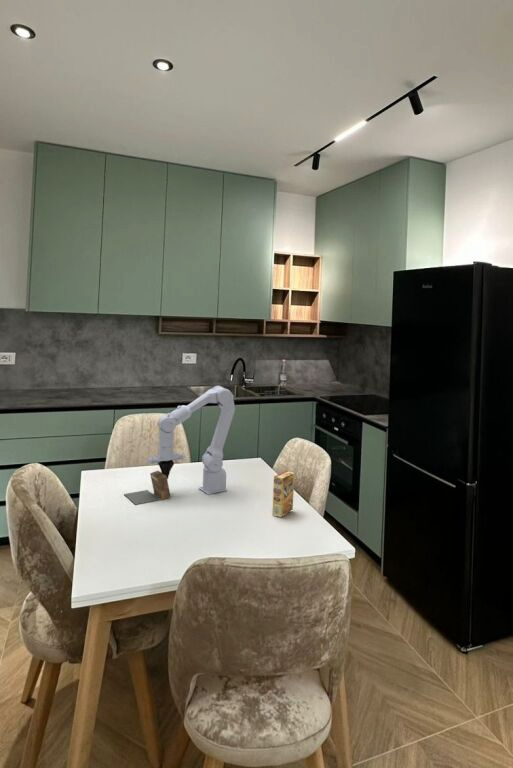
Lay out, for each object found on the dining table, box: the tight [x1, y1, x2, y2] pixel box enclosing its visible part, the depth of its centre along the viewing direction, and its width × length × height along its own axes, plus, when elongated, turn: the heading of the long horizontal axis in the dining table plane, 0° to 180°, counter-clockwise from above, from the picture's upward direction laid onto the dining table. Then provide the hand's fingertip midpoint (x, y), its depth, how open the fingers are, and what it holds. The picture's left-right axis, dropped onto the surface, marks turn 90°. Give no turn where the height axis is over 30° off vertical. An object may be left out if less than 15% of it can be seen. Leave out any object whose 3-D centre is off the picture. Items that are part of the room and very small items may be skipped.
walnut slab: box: [149, 470, 171, 501], centre depth 192 cm, size 4×8×9 cm, turn 34°
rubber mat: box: [123, 489, 161, 506], centre depth 190 cm, size 10×12×1 cm
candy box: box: [271, 470, 295, 518], centre depth 180 cm, size 9×4×15 cm, turn 146°
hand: (165, 478), depth 193 cm, fingers closed
